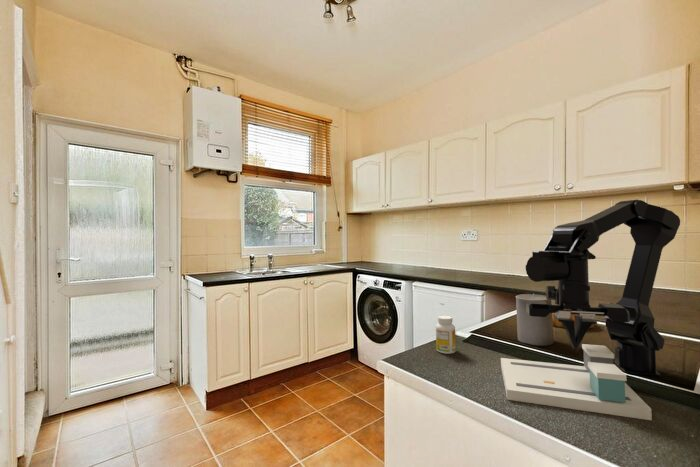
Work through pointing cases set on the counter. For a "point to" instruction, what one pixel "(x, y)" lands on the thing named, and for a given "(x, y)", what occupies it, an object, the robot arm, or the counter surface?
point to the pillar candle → (533, 322)
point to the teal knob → (607, 381)
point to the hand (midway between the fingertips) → (575, 348)
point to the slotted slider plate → (564, 388)
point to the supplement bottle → (445, 335)
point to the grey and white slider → (597, 354)
